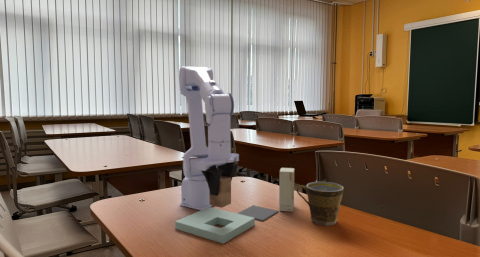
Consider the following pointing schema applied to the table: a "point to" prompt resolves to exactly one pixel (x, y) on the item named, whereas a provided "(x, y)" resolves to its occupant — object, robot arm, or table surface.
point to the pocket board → (209, 217)
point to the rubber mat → (258, 212)
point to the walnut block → (222, 193)
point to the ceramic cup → (323, 201)
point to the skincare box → (286, 189)
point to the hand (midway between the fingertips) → (219, 192)
